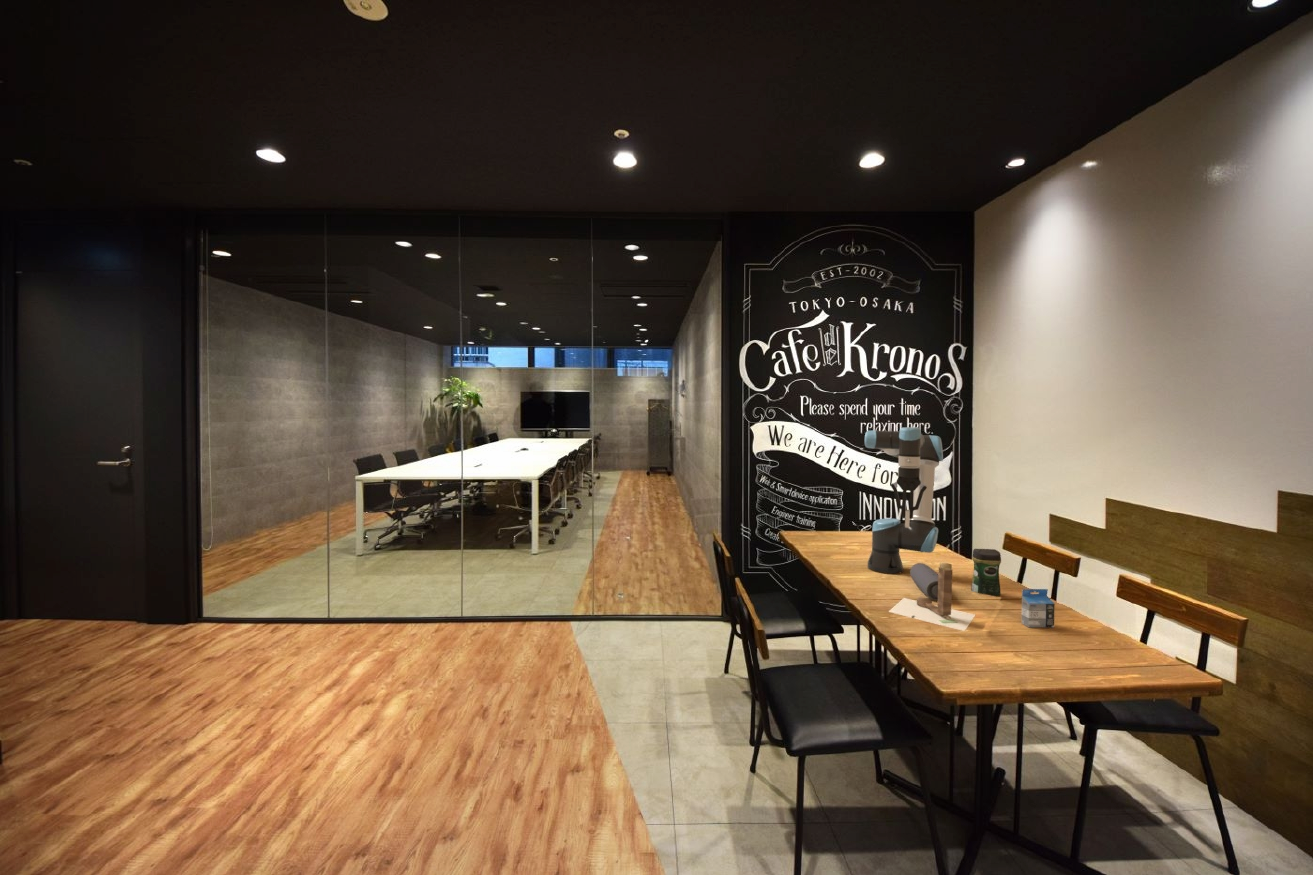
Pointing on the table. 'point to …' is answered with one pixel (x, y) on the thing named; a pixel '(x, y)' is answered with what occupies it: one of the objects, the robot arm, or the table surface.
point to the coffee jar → (986, 572)
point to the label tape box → (1037, 608)
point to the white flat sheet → (932, 615)
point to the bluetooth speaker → (925, 580)
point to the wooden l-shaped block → (941, 592)
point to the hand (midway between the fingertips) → (907, 526)
